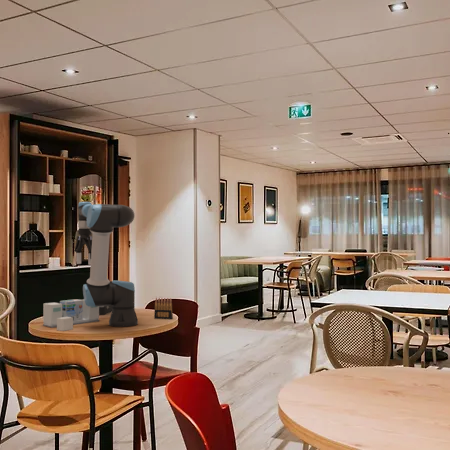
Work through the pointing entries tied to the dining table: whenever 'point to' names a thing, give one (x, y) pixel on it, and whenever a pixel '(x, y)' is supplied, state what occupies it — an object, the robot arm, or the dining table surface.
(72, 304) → the light bulb box
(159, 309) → the ammunition clip
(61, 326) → the block
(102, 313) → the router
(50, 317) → the rail assembly
